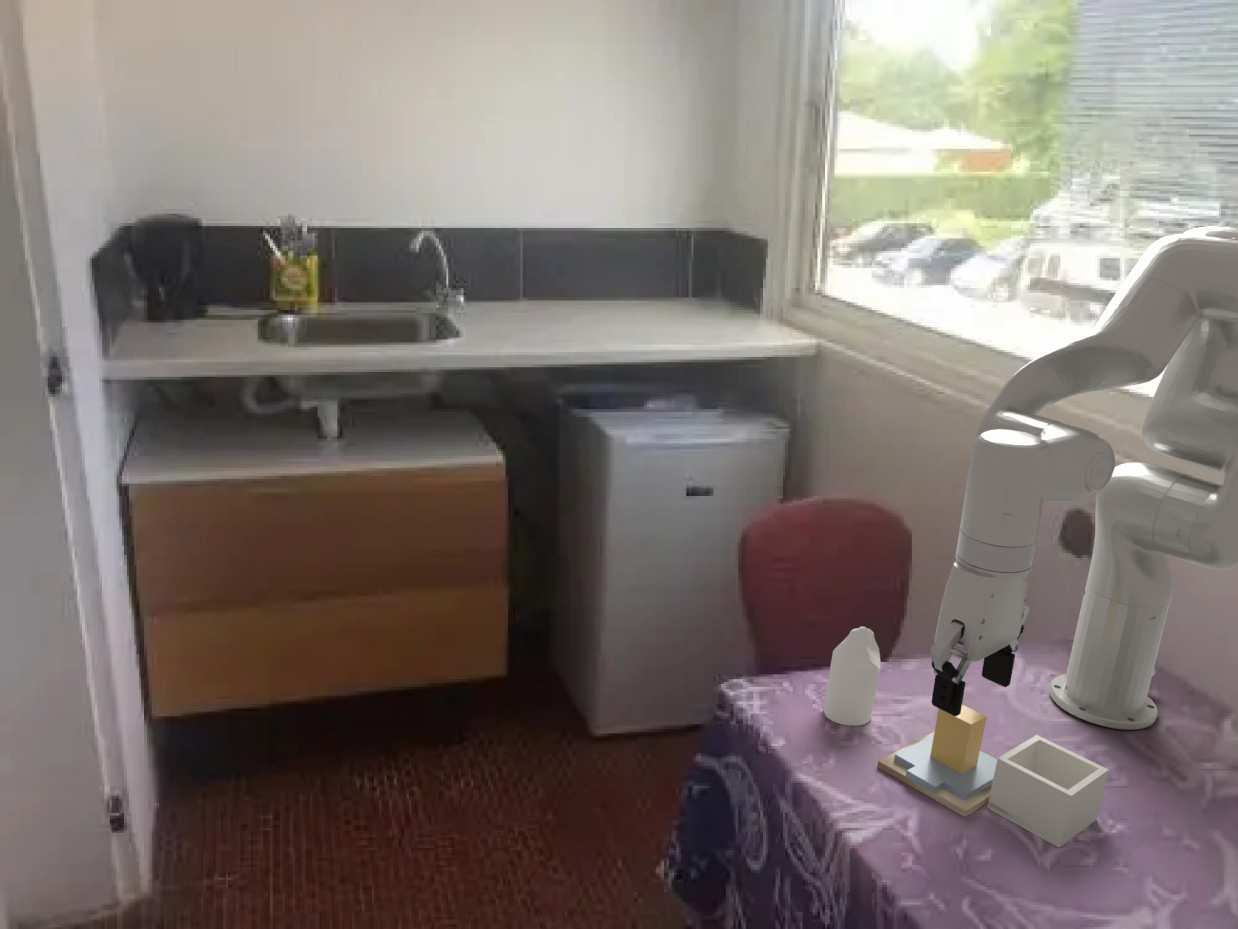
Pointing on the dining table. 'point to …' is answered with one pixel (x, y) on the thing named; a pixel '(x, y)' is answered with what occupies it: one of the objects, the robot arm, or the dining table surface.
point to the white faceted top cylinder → (853, 679)
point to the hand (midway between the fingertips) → (971, 695)
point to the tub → (1047, 790)
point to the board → (941, 795)
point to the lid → (951, 756)
